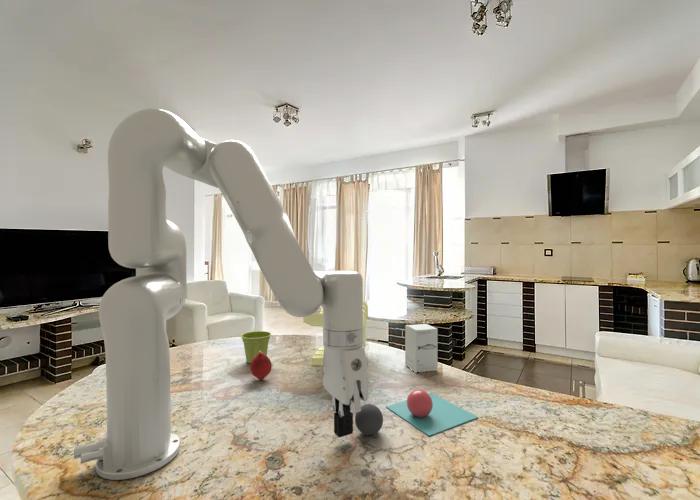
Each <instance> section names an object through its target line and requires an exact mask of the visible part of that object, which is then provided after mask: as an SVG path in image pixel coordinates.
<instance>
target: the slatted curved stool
mask: <svg viewBox="0 0 700 500" xmlns="http://www.w3.org/2000/svg"><path fill="white" fill-rule="evenodd" d="M368 315H369V307H368V303H367V302H366V301H365V300H364V299H363V345H362V346H363V347H364V350H365V348H366V342H367V341H366V336H367V335H366V334H367V331H366V329H367V327H366V326H367V320H369V316H368ZM302 319H303V321H302V322H303V324H305V325H308V326H311V327H321V328H323V307H322V306H321V309H320V312H319V313H317V312H315V313H313V314H311V315H309V316H306V317H302ZM323 356H324V347H319V348H318V349H317V351H316V352H315V353H314V354H313V356H312V357H311V361H310V362H311V363H310V365H311V366H322V367H323Z"/></svg>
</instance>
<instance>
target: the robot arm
mask: <svg viewBox="0 0 700 500" xmlns="http://www.w3.org/2000/svg"><path fill="white" fill-rule="evenodd" d="M164 167H165V168H167V169H169V170H171V171H173V172H174V173H176V174H178V175H181V176H184V177H186V178H189V179H192V180H194V181H198V182H201V183H203V184H206V185H208V186H211V187H214V188H217V189H219V191H220V192H221V194H222V197H223V198H224V200H225V202H226V203H227V206H228V208H229V209H230V211H231V213H232V215H233V216H234V218H235V221H236V222H237V224H238V225H239V227H240V229H241V231H242V233H243V235H244V237H245V240H246V243H247V245H248V247H249V248H250V250H251V252H252V254H253V256H254V258H255V261H256V264H257V265H258V267H259V269H260V272H261V273H262V275H263V277H264V279H265V280H266V282H267V284H268V286H269V288H270V290H271V292H272V293H273V296H274V297H275V299H276V300H277V303H278V304H279V305H280V307H281V308H282V310H284V311H285V312H286V313H287V314H289V315H291V316H293V317H296V318H303V317H306V316H309V315H311V314H313V313H317V311H318V310H319V309H320V308H322V307H323V327H322V344H323V345H322V346H323V348H324V356H323V366H322V382H323V387H324V389H325V390H326V391H327V393H328V394H329V395H330V396H331V400H332V410H333V432H334V434H335V435H336V436H337V438H342V437H346V436H349V435H351V434H353V432H354V414H356V413H358V412H361V406H362V405H361V400H362V401H364V402H365V401H368V400H369V376H368V375H369V373H368V372H369V371H368V364H367V356H366V350H365V349H364V347H363V346H362V345H363V300H364V298H363V297H364V294H363V293H364V290H363V289H364V288H363V287H364V285H363V284H364V282H363V276H362V273H360V272H359V271H355V270H342V269H341V270H329V271H318V270H317V271H316V270H313V267H312V265H311V264H310V262H309V260H308V258H307V257H306V253H304V251H303V249H302V246H301V245H300V243H299V241H298V239H297V237H296V234H295V232H294V229H293V227H292V224H291V220H290V218H289V215H288V213H287V211H286V209H285V208H284V205H283V203H282V202H281V200H280V198H279V196H278V195H277V192H276V191H275V189H274V187H273V185H272V184H271V182H270V180H269V178H268V176H267V174H266V172H265V171H264V169H263V167H262V164H261V163H260V161H259V159H258V158H257V156H256V154H255V152H254V151H253V150H252V149H251V147H250V146H249V145H247V144H246V143H244V142H242V141H240V140H234V139H228V140H223V141H221V142H219V143H218V144H217V143H216V142H213V141H211V140H210V141H209V139H205V138H202V137H200V136H199V135H198V134H197V133H196V132H195V131H194V130H193V129H192V128H191V127H190V126H189V124H187V123H186V122H185V121H184V120H183V119H182V118H180V117H179V116H178V115H176V114H174V113H172V112H170V111H169V110H165V109H162V108H157V107H152V108H143V109H140V110H137V111H135V112H132V113H131V114H129V115H128V116H126V117H125V118H124V119H122V120H121V121H120V122H119V124H118V125H117V126H116V128H115V129H114V130H113V132H112V134H111V136H110V139H109V142H108V149H107V170H108V171H107V174H108V175H107V176H108V198H107V199H108V202H107V203H108V206H107V207H108V208H107V209H108V211H107V214H108V219H107V221H108V223H107V224H108V227H107V228H108V231H107V232H108V234H107V235H108V236H107V239H108V243H107V244H108V251H109V254H110V257H111V258H112V260H113V261H114V262H116V263H117V264H118V265H119V266H122V267H123V268H124V267H125V268H127V269H128V268H129V269H135V276H130V277H127V278H124V279H121V280H120V281H117V282H116V283H114V284H112V285H111V286H110V287H109V288H108V289H107V290H106V291H105V292H104V294H103V295H102V297H101V300H100V302H99V307H98V318H99V324H100V328H101V332H102V337H103V342H104V352H105V354H104V355H105V378H106V383H105V384H106V388H105V389H106V432H105V437H103V438H99V439H98V440H97V441H95V442H91V443H85V444H80V445H75V446H74V450H73V460H77V459H80V464H85V463H89V462H91V461H95V460H96V462H95V472H96V474H97V475H98V476H99V477H101V478H102V479H103V478H104V479H106V480H111V481H113V480H114V481H121V480H128V479H133V478H137V477H140V476H145V475H147V474H149V473H151V472H152V473H153V472H154V471H156V470H158V469H160V468H162V467H164V466H165V465H167V464H168V463H169V462H171V461H172V460H173V459H174V458H175V457H176V456H177V455H178V453H179V452H180V450H181V438H180V437H179V435H177V434H176V433H174V432H172V423H171V422H172V421H171V419H172V418H171V417H172V415H171V414H172V413H171V353H170V344H169V343H170V342H169V336H168V334H167V329H166V321H168V320H171V318H173V317H174V316H175V315H177V314H178V313H179V312H180V311H181V310H182V309H183V307H184V304H185V303H186V298H187V245H186V244H187V243H186V238H185V235H184V233H183V231H182V230H181V228H179V226H178V225H177V224H175V223H174V222H173V221H170V220H169V219H167V209H166V208H167V206H166V203H167V202H166V201H167V191H166V186H165V185H166V184H165V180H164V175H163V171H164Z"/></svg>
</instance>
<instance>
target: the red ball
mask: <svg viewBox="0 0 700 500" xmlns="http://www.w3.org/2000/svg"><path fill="white" fill-rule="evenodd" d="M429 394H430V393H428V392H427V391H425V390H424V389H423V390H422V389H415V390H412V391H411V392H410V393H409V394H408V396H407V399H406V400H407V407H408V409H409V411H410V413H411V414H413V415H414V416H416V417H420V418H422V417H426V416H427V415H429V414H430V412H431V411H432V407H433V402H432V399H431V397H430V395H429Z"/></svg>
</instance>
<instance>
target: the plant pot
mask: <svg viewBox="0 0 700 500" xmlns="http://www.w3.org/2000/svg"><path fill="white" fill-rule="evenodd" d="M271 336H272V333H271V332H270V331H264V330H263V331H262V330H258V331H257V330H255V331H249V332H245V333H242V334H241V335H240V338H241V339H242V342H243V346H244V352H245V353H244V354H245V360H246V361H245V362H246V363H247V364H251V361H252V360H253V358H254V357H255V356H257V355H258V353H259V351H261V352H262V353H263V354H265V355H266V356H267V357H268V348H269V341H270V339H271V338H270V337H271Z"/></svg>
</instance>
